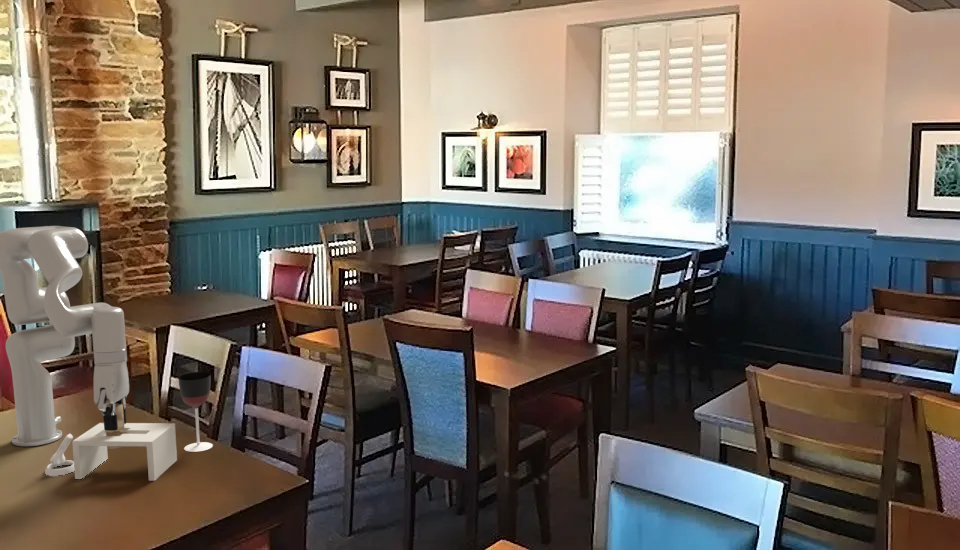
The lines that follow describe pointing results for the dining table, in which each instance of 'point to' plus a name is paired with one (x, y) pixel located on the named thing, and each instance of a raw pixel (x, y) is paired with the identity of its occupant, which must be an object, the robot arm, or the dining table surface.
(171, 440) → the keyhole shelf
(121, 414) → the peg
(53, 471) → the hook
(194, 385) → the wineglass
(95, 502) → the dining table surface
